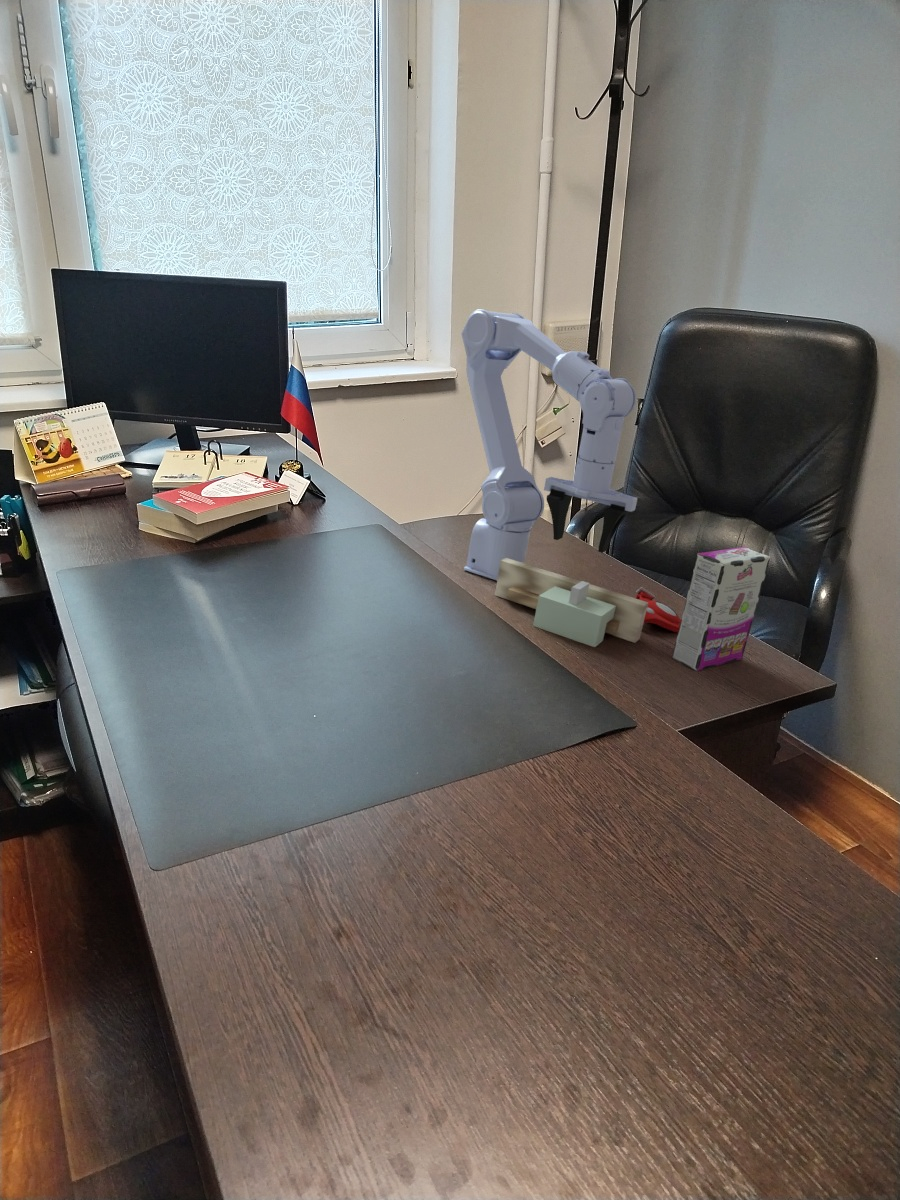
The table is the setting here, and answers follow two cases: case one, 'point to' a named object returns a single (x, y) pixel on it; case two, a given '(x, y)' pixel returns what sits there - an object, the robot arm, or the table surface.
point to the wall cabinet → (573, 614)
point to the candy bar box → (720, 607)
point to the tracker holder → (658, 612)
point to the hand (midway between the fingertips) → (579, 544)
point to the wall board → (531, 582)
